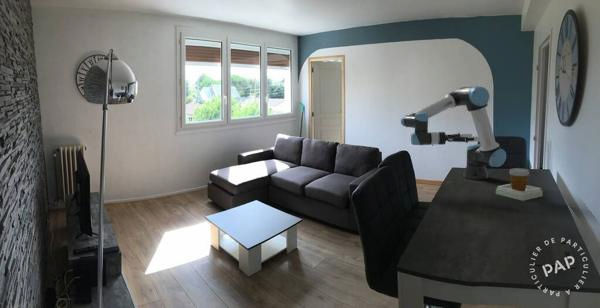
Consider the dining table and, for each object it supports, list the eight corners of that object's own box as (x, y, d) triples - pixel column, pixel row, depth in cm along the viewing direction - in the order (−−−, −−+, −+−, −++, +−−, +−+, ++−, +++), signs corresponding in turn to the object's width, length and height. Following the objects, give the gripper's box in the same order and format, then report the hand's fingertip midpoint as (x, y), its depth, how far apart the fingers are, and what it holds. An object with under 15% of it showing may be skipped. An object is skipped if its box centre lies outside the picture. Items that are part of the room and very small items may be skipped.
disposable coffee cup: (523, 188, 197) (524, 167, 195) (531, 193, 188) (533, 172, 186) (505, 188, 199) (506, 168, 196) (512, 194, 190) (513, 172, 187)
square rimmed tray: (514, 189, 207) (514, 182, 206) (542, 196, 193) (542, 188, 192) (495, 193, 201) (496, 186, 200) (522, 200, 186) (523, 192, 186)
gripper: (433, 141, 222) (468, 141, 219) (443, 147, 198) (482, 146, 194) (433, 130, 221) (468, 129, 217) (443, 134, 196) (483, 133, 193)
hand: (475, 137), depth 206 cm, fingers open, 13 cm apart
